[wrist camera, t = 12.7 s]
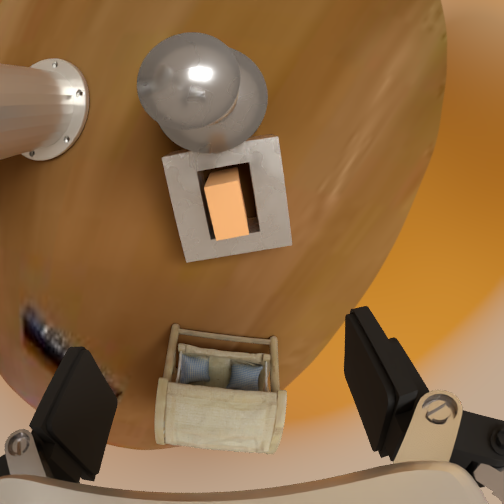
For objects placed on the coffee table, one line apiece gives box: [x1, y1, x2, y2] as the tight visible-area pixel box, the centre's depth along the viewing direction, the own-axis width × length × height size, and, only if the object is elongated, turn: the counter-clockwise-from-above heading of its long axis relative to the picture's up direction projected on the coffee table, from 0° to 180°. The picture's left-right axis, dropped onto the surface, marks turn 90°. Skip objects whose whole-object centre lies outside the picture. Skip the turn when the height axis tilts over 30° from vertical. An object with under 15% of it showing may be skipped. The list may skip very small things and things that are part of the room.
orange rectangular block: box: [204, 167, 249, 241], centre depth 31 cm, size 3×5×8 cm, turn 10°
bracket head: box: [137, 32, 292, 263], centre depth 24 cm, size 11×20×20 cm, turn 9°
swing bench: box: [155, 324, 287, 454], centre depth 38 cm, size 15×10×15 cm, turn 81°
